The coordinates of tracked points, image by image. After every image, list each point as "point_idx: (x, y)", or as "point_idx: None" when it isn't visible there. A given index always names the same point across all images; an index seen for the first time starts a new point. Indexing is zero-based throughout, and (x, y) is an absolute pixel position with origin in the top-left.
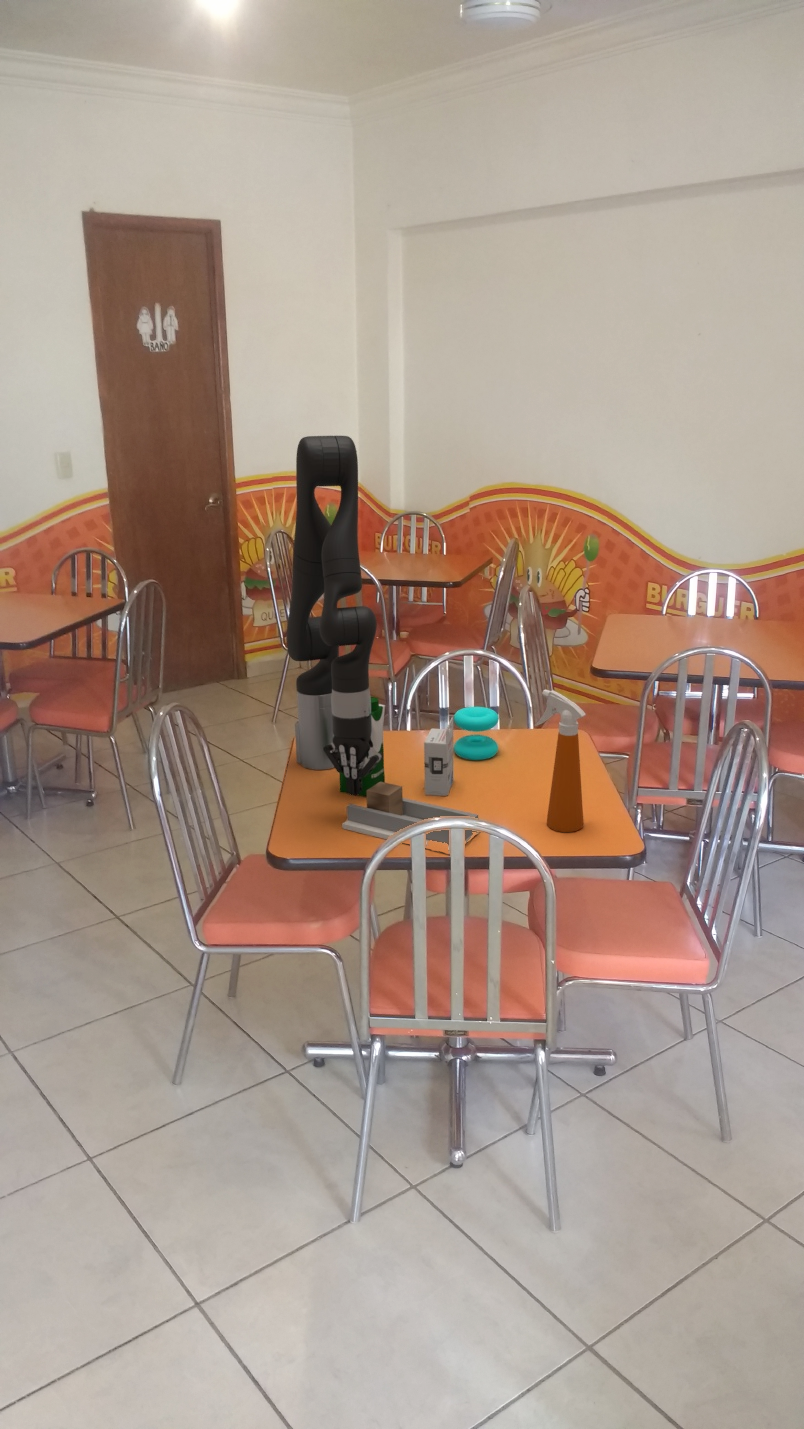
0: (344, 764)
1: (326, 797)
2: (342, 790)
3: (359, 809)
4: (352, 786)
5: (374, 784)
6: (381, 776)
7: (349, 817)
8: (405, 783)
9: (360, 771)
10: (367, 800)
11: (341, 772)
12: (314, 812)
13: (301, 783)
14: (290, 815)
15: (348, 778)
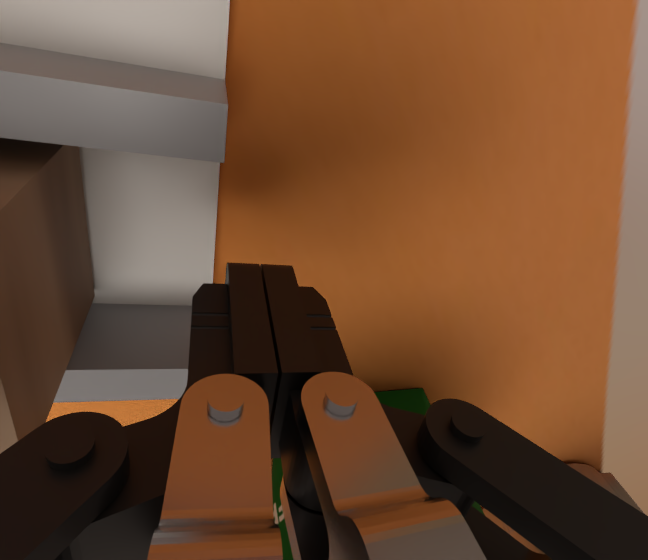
0: (415, 536)
1: (464, 330)
2: (413, 395)
3: (69, 80)
4: (251, 310)
5: (272, 469)
6: None
7: (205, 82)
8: None
9: (85, 501)
10: (7, 189)
11: (424, 415)
12: (483, 171)
13: (583, 383)
14: (609, 83)
15: (312, 368)
